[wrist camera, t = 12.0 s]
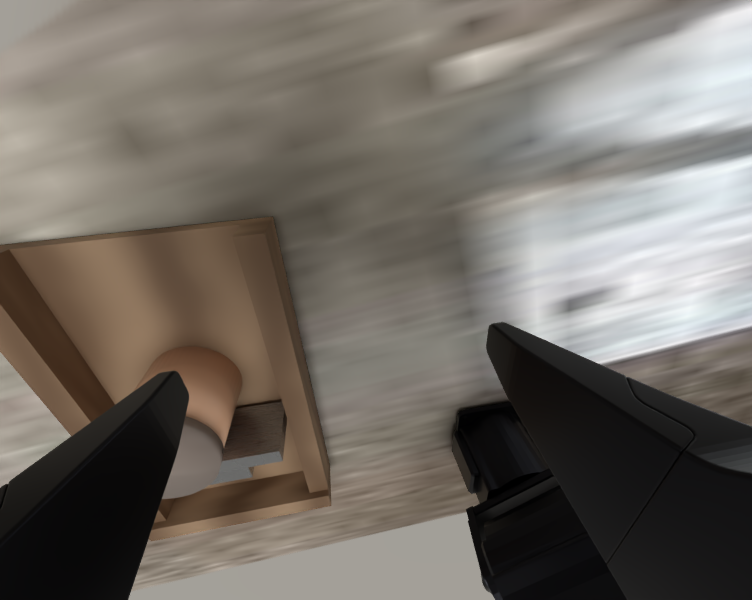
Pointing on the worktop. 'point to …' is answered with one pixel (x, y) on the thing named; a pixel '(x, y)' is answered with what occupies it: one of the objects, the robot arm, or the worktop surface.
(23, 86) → the worktop surface
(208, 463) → the jar
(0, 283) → the tray
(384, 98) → the worktop surface
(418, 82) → the worktop surface
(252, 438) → the pusher
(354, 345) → the worktop surface
